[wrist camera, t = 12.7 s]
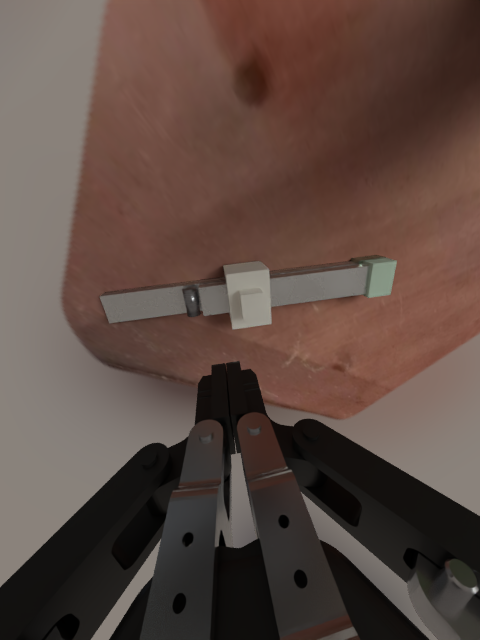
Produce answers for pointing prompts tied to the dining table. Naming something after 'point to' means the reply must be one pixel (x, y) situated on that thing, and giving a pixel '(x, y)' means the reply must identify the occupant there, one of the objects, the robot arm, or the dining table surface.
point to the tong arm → (312, 285)
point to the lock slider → (248, 294)
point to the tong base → (179, 296)
